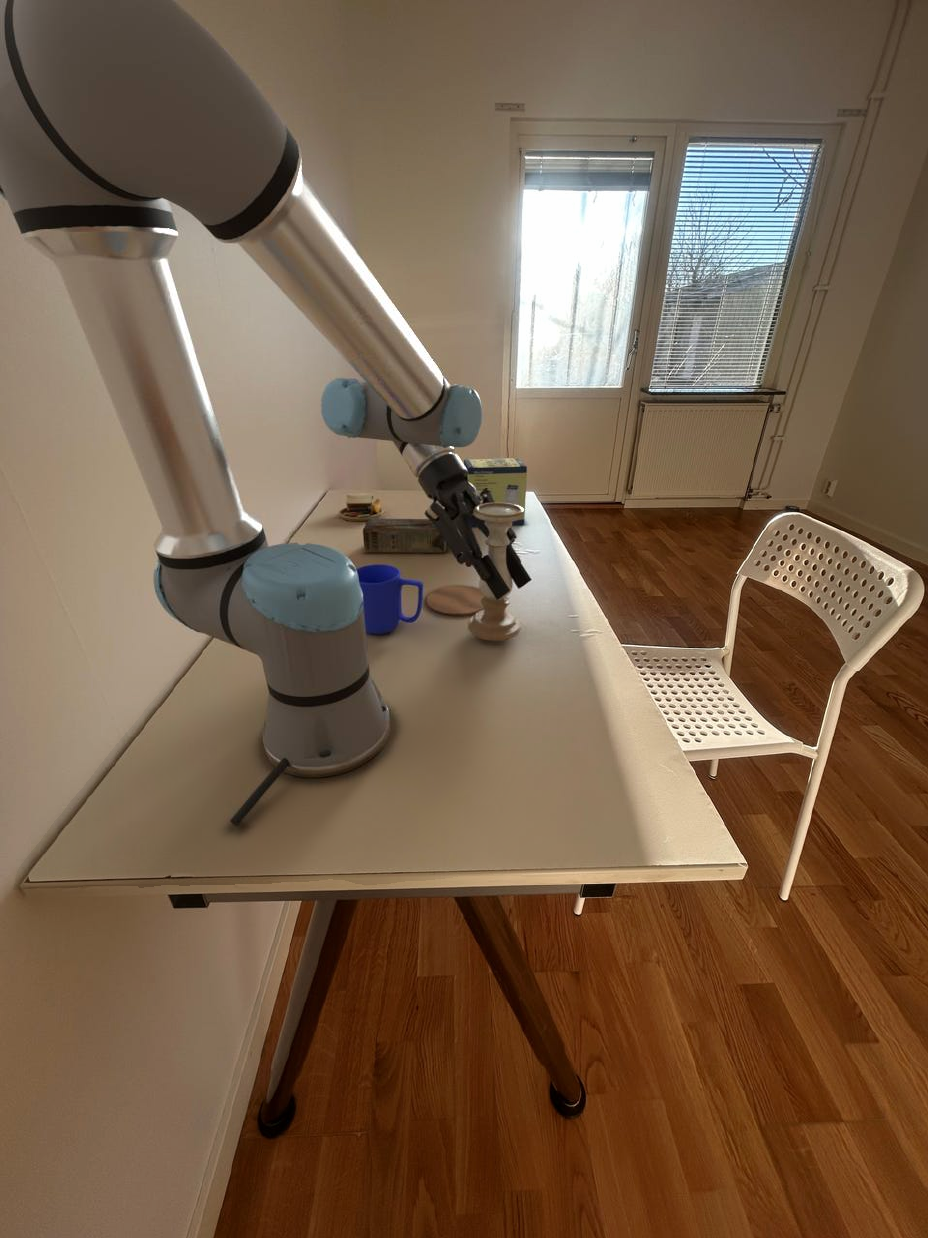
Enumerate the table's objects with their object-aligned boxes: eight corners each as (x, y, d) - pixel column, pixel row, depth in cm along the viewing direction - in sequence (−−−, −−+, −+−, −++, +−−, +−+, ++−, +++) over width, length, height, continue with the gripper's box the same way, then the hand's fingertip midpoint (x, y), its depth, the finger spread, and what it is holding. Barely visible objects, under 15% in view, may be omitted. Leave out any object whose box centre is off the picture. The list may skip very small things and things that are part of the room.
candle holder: (465, 617, 89) (466, 501, 80) (515, 615, 90) (522, 500, 80) (470, 642, 81) (472, 517, 72) (525, 640, 82) (534, 516, 73)
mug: (418, 643, 84) (415, 587, 79) (348, 636, 86) (341, 581, 81) (431, 620, 91) (429, 567, 86) (366, 613, 93) (360, 562, 88)
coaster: (468, 621, 90) (468, 619, 90) (413, 605, 96) (413, 603, 96) (501, 596, 99) (501, 594, 99) (450, 582, 105) (450, 581, 104)
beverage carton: (446, 554, 119) (445, 526, 116) (363, 554, 119) (360, 526, 116) (447, 542, 126) (446, 515, 123) (369, 542, 126) (366, 516, 123)
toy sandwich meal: (333, 522, 140) (331, 505, 138) (345, 508, 152) (343, 492, 150) (379, 522, 140) (377, 505, 138) (387, 508, 152) (386, 492, 149)
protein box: (463, 515, 145) (463, 458, 138) (517, 513, 146) (520, 457, 139) (467, 527, 136) (467, 467, 128) (525, 525, 137) (528, 465, 130)
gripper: (461, 472, 90) (532, 583, 88) (383, 490, 78) (463, 619, 76) (485, 443, 85) (562, 562, 83) (405, 459, 73) (491, 597, 71)
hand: (514, 589), depth 80 cm, fingers closed on candle holder, 5 cm apart
